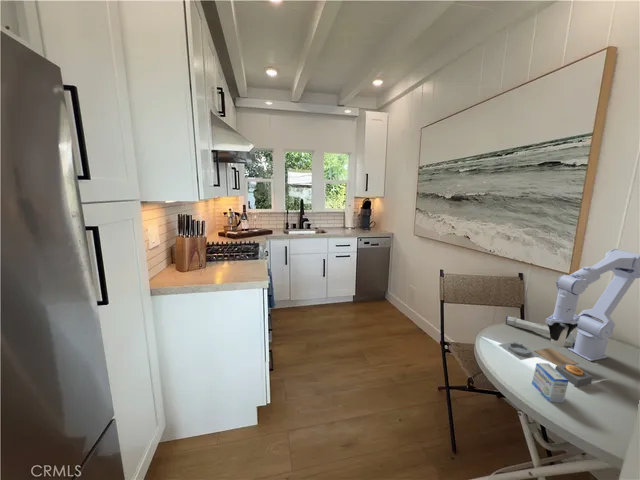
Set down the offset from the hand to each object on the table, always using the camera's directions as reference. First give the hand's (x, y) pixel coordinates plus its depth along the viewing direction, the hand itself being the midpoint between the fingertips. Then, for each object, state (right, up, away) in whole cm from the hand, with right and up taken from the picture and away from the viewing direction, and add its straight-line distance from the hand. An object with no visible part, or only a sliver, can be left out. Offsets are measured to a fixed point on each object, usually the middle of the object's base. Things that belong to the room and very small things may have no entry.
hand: (558, 338), depth 103 cm
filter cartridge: (0, -2, 0) cm, 2 cm away
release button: (-3, -11, -9) cm, 14 cm away
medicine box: (-18, -13, -15) cm, 27 cm away
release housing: (-3, -11, -9) cm, 14 cm away
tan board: (+1, -8, +2) cm, 9 cm away
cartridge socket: (-11, -7, +6) cm, 15 cm away
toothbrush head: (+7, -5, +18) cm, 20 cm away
